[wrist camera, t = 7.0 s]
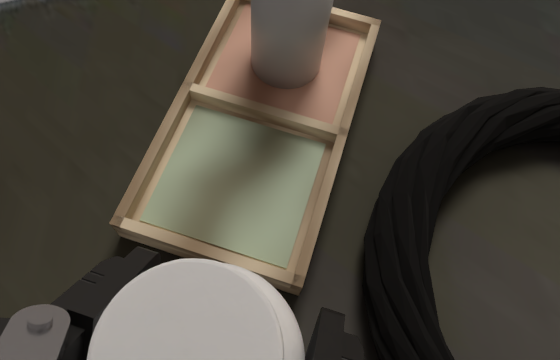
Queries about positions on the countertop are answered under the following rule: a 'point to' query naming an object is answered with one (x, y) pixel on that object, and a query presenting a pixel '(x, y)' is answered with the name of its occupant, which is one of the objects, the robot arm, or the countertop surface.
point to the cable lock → (423, 211)
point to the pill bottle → (197, 316)
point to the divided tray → (248, 153)
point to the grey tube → (288, 40)
